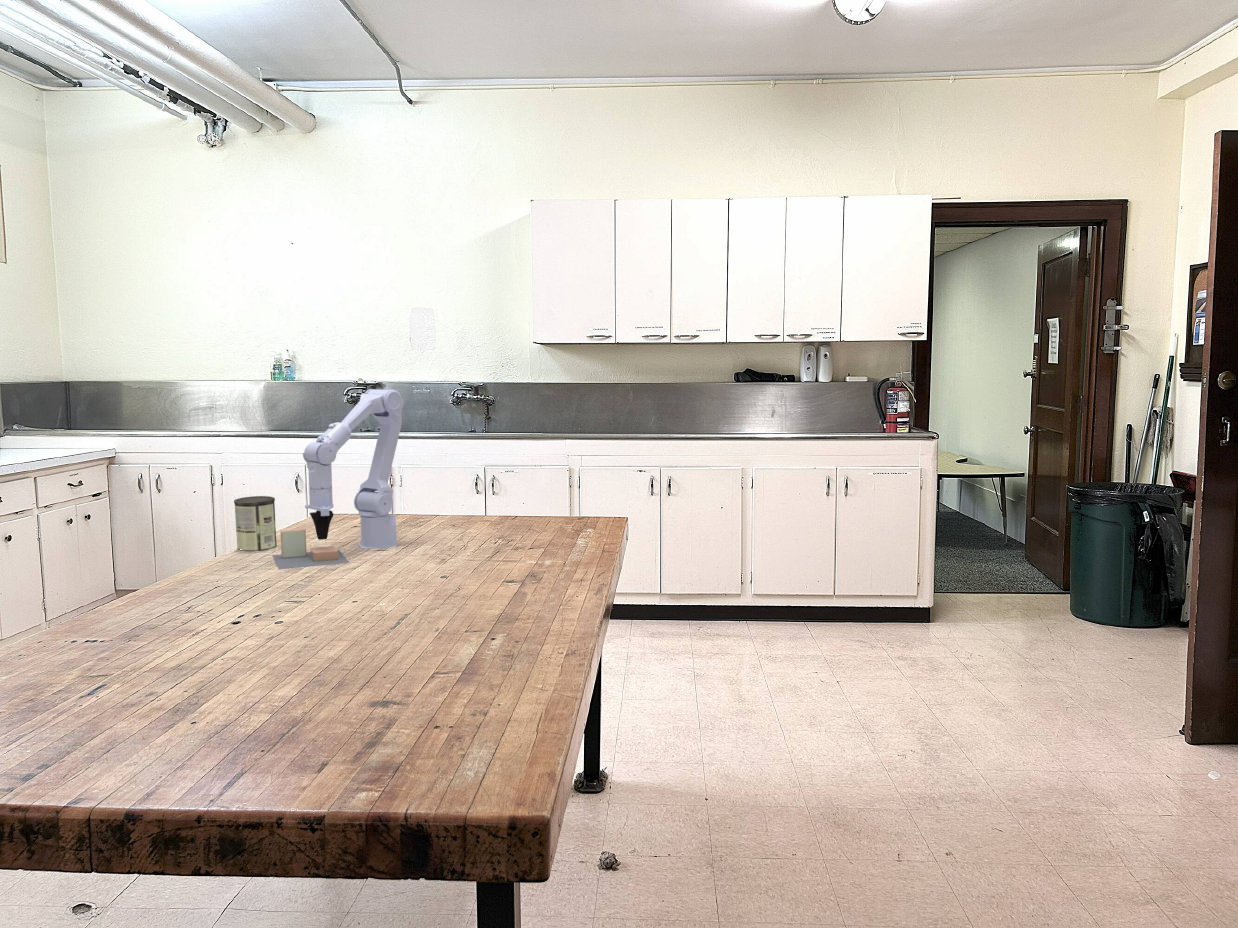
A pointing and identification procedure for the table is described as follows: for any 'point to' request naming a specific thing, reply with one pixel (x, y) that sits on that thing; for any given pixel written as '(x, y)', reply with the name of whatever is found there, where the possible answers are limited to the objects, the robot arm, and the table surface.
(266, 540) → the coffee can
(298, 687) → the table surface
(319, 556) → the tile
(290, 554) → the tile
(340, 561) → the slate mat
